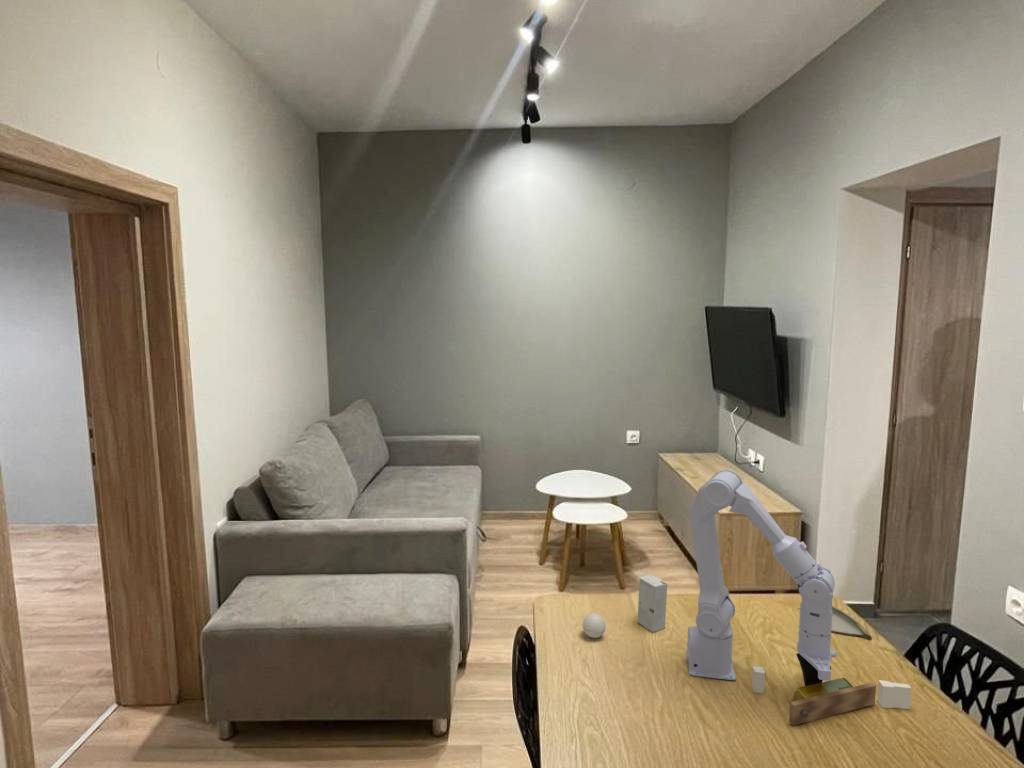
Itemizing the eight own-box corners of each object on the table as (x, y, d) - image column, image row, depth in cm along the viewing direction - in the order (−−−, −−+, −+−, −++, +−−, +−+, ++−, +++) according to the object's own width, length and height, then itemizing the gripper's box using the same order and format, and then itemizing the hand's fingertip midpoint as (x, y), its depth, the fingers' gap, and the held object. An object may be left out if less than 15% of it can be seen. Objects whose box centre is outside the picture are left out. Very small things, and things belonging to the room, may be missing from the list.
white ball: (604, 630, 144) (605, 609, 143) (606, 643, 138) (606, 621, 138) (574, 629, 145) (574, 607, 144) (574, 641, 139) (574, 619, 139)
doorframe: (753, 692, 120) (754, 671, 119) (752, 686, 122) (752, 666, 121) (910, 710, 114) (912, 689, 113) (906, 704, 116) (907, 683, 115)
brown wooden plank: (796, 727, 109) (797, 708, 108) (789, 721, 110) (790, 702, 110) (878, 706, 114) (879, 688, 114) (870, 701, 116) (871, 682, 116)
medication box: (838, 690, 118) (844, 676, 117) (848, 702, 116) (855, 688, 115) (790, 701, 115) (796, 687, 113) (800, 713, 113) (806, 699, 111)
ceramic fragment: (872, 641, 139) (873, 621, 139) (854, 648, 136) (855, 627, 136) (806, 608, 155) (806, 591, 155) (788, 614, 153) (789, 596, 152)
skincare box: (636, 622, 148) (637, 576, 147) (650, 617, 150) (651, 573, 149) (653, 633, 142) (654, 586, 141) (666, 628, 145) (668, 582, 143)
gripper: (850, 651, 108) (846, 718, 109) (825, 613, 122) (821, 673, 124) (809, 647, 109) (805, 713, 111) (789, 609, 124) (786, 669, 125)
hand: (811, 692), depth 117 cm, fingers closed
